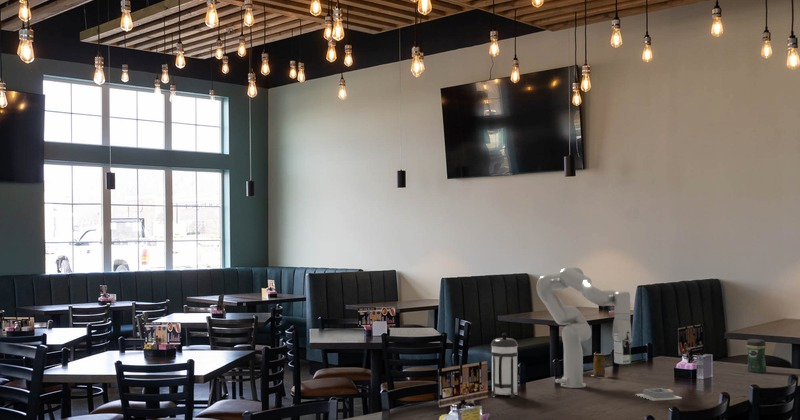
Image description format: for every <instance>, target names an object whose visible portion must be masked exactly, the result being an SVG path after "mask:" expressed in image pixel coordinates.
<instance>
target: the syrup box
mask: <svg viewBox="0 0 800 420" xmlns="http://www.w3.org/2000/svg"><path fill="white" fill-rule="evenodd" d="M617 336H618V334H617V333H614V339H613V362H614V363H615V364H619V365H626V364H631V363H632V354H631V352H632V351H631V349H632V348H631V346H632V343H631V344H630V355H623V347H624V343H623V341H620V340H617ZM625 340H627V339H625ZM626 343H627V342H626Z"/></svg>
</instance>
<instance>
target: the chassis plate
mask: <svg viewBox="0 0 800 420" xmlns="http://www.w3.org/2000/svg"><path fill="white" fill-rule="evenodd" d="M642 392H643V393H635V394H634V395H635V396H636V395H637V396H636V397H639V396H640V397H639V398H642V397H643V398H642V399H645V398H646V399H647V400H648V399H649V401H652V402H655V401H671V400H673V401H674V400H682V399H683V397H681V396H678V395H675V391H674V390H673V389H670V388H668V389H665V388H662V387H660V388H659V387H658V388H643V389H642Z"/></svg>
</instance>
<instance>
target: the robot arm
mask: <svg viewBox="0 0 800 420" xmlns="http://www.w3.org/2000/svg"><path fill="white" fill-rule="evenodd" d="M535 287H536V293H537V296H538V297H539V299H540V300H541V302H542V303H543V304H544V306H545V308H546V309H547V311H548V312H549V314H550V315H551V317H552V318H553V320H554V321H555V323H556V324H557V325H559V326H564V327H563V328H562V330H561V339H562V343H563V345H562V346H563V376H562V377H561V378H555V379H554V382H555V383H556V384H558V383H559V384H560V387H563V388H571V389H580V388H581V389H582V388H586V387H587V383H584V376H583V375H584V363H583V362H584V360H583V359H584V356H583V355H584V353H583V351H584V350H583V346H582V343H581V342H586V341H588V340H589V339H591V337H592V328H591V327H590V324H589V322H587V320H586V318H585V317H584V316H583V314H582V312H581V311H580V310H579V309H578V308H577V307H575V306H574V305H566V304H564V302H563V301H562V300H561V298H560V297H559V296H558V294H556V293H555V291H561V290H564V289H567V288H571V289H574V290H575V291H577V292H579V293H581V295H582V296H583V297H584V298H585V299H586V300H587V301H589V302H591V303H593V304H595V305H597V306H600V307H606V306H608V307H609V306H613V307H614V309H613V310H614V312H613V313H614V315H613V317H614V319H613V323H612V340H614V333H617V334H618V336H617V340H620V341H623V343H624V347H623V355H630V344H631V345H632V342H633V338H632V324H631V293H630V292H629V291H624V290H623V291H622V290H620V291H617V290H614V289H612V290H611V289H609V290H607V289H605V290H601V289H600V288H597V287H595V286H594V285H592V279H591V278H590V277H588V276H586V275H584V272H583V270H582V269H581V268H579V267H577V266H570V267H564V268H562V269H560V271H559V273H552V274H551V273H550V274H549V273H548V274H543V275H542V276H540V277H539V278H538V279H537V282H536V286H535ZM625 339H627V340H625ZM626 342H627V343H626Z"/></svg>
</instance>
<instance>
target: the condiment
mask: <svg viewBox="0 0 800 420" xmlns="http://www.w3.org/2000/svg"><path fill="white" fill-rule="evenodd" d="M593 356H594V357H593V374H590V376H591V377H594V378H599V379H600V378H605V379H606V378H609V376H607V375H605V374H606V360H605V354H604V353H594V355H593Z"/></svg>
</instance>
